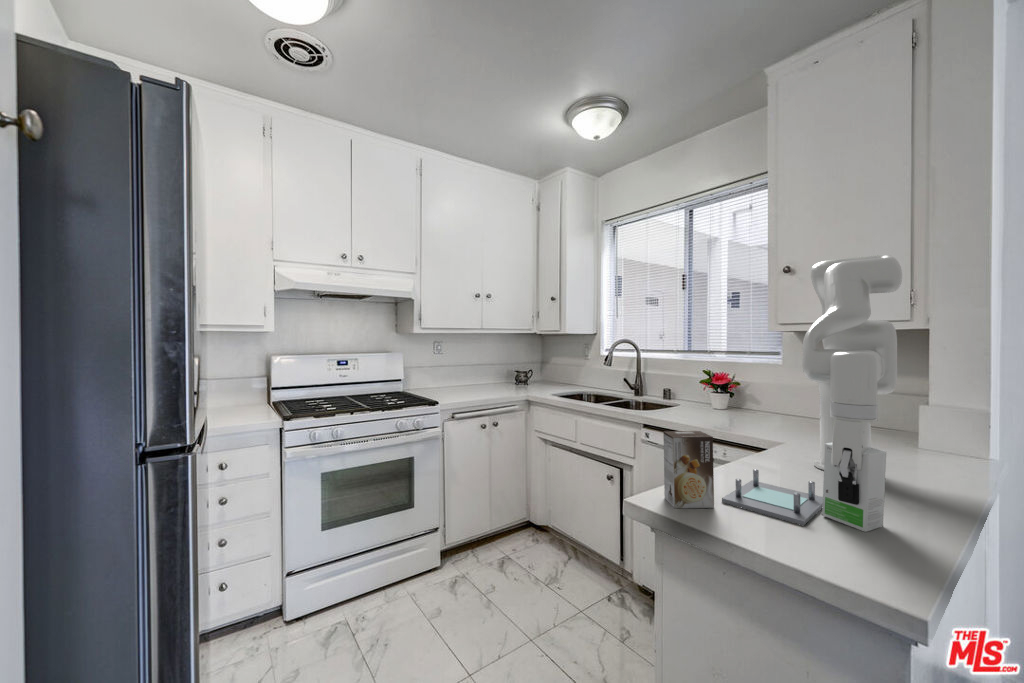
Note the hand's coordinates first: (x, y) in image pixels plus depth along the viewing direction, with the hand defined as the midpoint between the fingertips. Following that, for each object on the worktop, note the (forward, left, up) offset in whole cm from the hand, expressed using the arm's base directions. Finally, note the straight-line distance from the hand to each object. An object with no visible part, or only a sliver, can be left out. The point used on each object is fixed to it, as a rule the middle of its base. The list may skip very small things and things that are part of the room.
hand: (853, 496), depth 85 cm
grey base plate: (+1, -14, -5) cm, 15 cm away
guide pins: (+1, -14, -5) cm, 15 cm away
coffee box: (+16, -27, -5) cm, 32 cm away
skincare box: (0, 0, -5) cm, 5 cm away
